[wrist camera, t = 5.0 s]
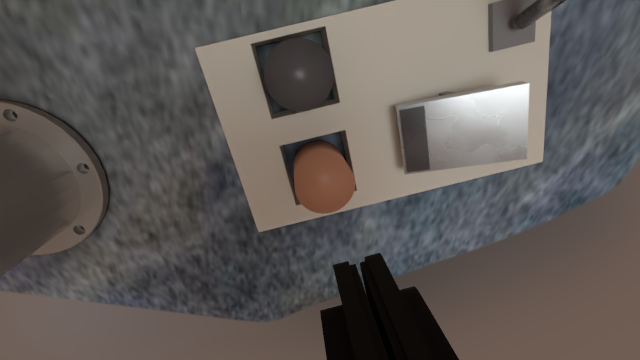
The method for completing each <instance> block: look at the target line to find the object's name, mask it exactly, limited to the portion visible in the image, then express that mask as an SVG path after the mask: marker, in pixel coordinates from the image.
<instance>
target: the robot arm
mask: <svg viewBox="0 0 640 360" xmlns="http://www.w3.org/2000/svg"><path fill="white" fill-rule="evenodd" d="M107 205H108V184H107V180H106V176H105V173H104V170H103V168H102V166H101V164H100V162H99V160H98V158H97V157H96V155H95V154H94V152H93V151H92V149H91V148H90V147H89V145H88V144H87V143H86V142H85V141H84V140H83V139H82V138H81V137H80V136H79V135H78V134H77V133H76V132H75V131H74V130H72V129H71V128H70V127H68V126H67V125H66V124H65V123H63V122H62V121H61V120H59V119H57V118H55V117H53V116H52V115H50V114H48V113H46V112H44V111H42V110H39V109H37V108H34V107H32V106H29V105H26V104H22V103H18V102H13V101H8V100H0V276H2V275H3V274H4V273H6V272H7V271H9V270H10V269H11V268H13V267H14V266H15V265H17V264H18V263H19V262H21V261H22V260H24V259H25V258H26V257H28V256H29V255H47V254H53V253H58V252H61V251H64V250H67V249H70V248H72V247H73V246H75V245H77V244H79V243H80V242H82V241H83V240H84V239H86V238H87V237H88V236H89V235H90V234H91V233H93V231H94V230H95V229H96V228H97V227H98V226H99V224H100V223H101V221H102V219H103V217H104V215H105V213H106V209H107ZM360 266H361V271H362V276H363V280H364V285H365V290H366V293H365V290H364V287H363V284H362V281H361V279H360V276H359V273H358V270H357V267H356V264H353V265H349V262H348V261H347V262H343V263H339V264H335V265H333V267H334V272H335V276H336V280H337V284H338V289H339V293H340V297H341V301H342V305H340V306H336V307H333V308H329V309H325V310H321V311H320V312H321V320H322V328H323V335H324V342H325V349H326V356H327V360H459V359H458V357H457V356H456V354H455V352H454V350H453V349H452V347H451V345H450V344H449V342H448V340H447V339H446V337H445V335H444V334H443V332H442V330H441V328H440V327H439V325H438V323H437V322H436V320H435V319H434V317H433V315H432V313H431V311H430V310H429V308H428V306H427V305H426V303H425V301H424V300H423V298H422V296H421V295H420V293H419V291H418V290H417V289H416V287H410V288H406V289H402V290H399V289H398V287H397V285H396V283H395V281H394V279H393V277H392V275H391V273H390V271H389V269H388V267H387V265H386V263H385V261H384V259H383V257H382V255H381V254H380V253H378V254H374V255H370V256H367V257H365V262H361V263H360ZM366 295H367V296H366Z"/></svg>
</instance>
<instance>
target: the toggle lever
mask: <svg viewBox="0 0 640 360" xmlns="http://www.w3.org/2000/svg"><path fill="white" fill-rule="evenodd" d="M564 1H566V0H536V1H535V2H534V3H532V4H531V5H530V6H528V7H527V8H526V9H525V10H523V11H522V12H521V13H519V14H518V15H517V16H516V17H515V18H514V20H513V26H514V28H516V29H518V30H522V29H525V28H526V27H528V26H529V25H531V24H532V23H534V22H535V21H537V20H538V19H540V18H541V17H542V16H544V15H545V14H547V13H548V12H550V11H551V10H553V9H554V8H556V7H557V6H558V5H560V4H561V3H563V2H564Z"/></svg>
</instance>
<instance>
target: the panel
mask: <svg viewBox="0 0 640 360" xmlns="http://www.w3.org/2000/svg"><path fill="white" fill-rule="evenodd" d="M535 1H536V0H395V1H391V2H387V3H383V4H378V5H374V6H370V7H366V8H362V9H357V10H353V11H349V12H345V13H340V14H336V15H332V16H328V17H324V18H319V19H315V20H311V21H307V22H303V23H298V24H294V25H290V26H286V27H282V28H277V29H273V30H269V31H265V32H261V33H256V34H252V35H248V36H244V37H240V38H235V39H231V40H227V41H223V42H218V43H214V44H210V45H206V46H202V47H197V48H195V50H196V53H197V56H198V59H199V62H200V65H201V68H202V71H203V73H204V76H205V79H206V82H207V85H208V88H209V91H210V94H211V97H212V99H213V102H214V105H215V108H216V111H217V114H218V117H219V120H220V123H221V125H222V128H223V131H224V134H225V137H226V140H227V143H228V146H229V149H230V151H231V154H232V157H233V160H234V163H235V166H236V169H237V172H238V174H239V177H240V180H241V183H242V186H243V189H244V192H245V195H246V198H247V200H248V203H249V206H250V209H251V212H252V215H253V218H254V221H255V224H256V226H257V229H258V232H262V231H266V230H270V229H274V228H278V227H282V226H286V225H290V224H294V223H298V222H302V221H306V220H310V219H314V218H318V217H322V216H326V215H330V214H334V213H338V212H342V211H346V210H350V209H354V208H358V207H362V206H366V205H370V204H375V203H379V202H383V201H387V200H391V199H395V198H399V197H403V196H407V195H411V194H415V193H419V192H423V191H427V190H431V189H435V188H439V187H443V186H447V185H451V184H455V183H459V182H463V181H467V180H471V179H475V178H479V177H483V176H487V175H491V174H495V173H499V172H503V171H507V170H511V169H515V168H519V167H523V166H527V165H531V164H535V163H539V162H543V149H544V131H545V114H546V96H547V79H548V61H549V43H550V26H551V11H550V12H548V13H547V14H545V15H544V16H542V17H541V18H540V19H538V20H537V21H535V22H534V23H532V24H531V25H529V26H528V27H526V28H525V29H522V30H518V29H516V28H514V26H513V20H514V18H515V17H516V16H517V15H518V14H519V13H521V12H522V11H523V10H525V9H526V8H527V7H528V6H530V5H531V4H532V3H534V2H535ZM318 31H321V36H322V41H323V46H324V50H325V51H326V53H327V54H328V56H329V57H330V59H331V62H332V65H333V70H334V82H333V86H332V91H333V96H334V99H330V100H326V101H324V102H323V103H321V104H320V105H319V106H317V107H316V108H314V109H312V110H309V111H304V112H296V111H291V110H285V111H281V112H277V113H273V110H272V106H271V103H270V99H269V95H268V92H267V88H266V85H265V81H264V77H263V74H262V70H261V67H260V63H259V59H258V56H257V52H256V49H255V47H256V46H260V45H264V44H268V43H272V42H277V41H281V40H285V39H289V38H293V37H298V36H302V35H306V34H310V33H314V32H318ZM518 81H524V82H527V83H529V111H528V139H527V159H522V160H515V161H507V162H499V163H491V164H483V165H475V166H467V167H460V168H452V169H444V170H436V171H428V172H420V173H412V174H404V168H403V160H402V152H401V144H400V137H399V129H398V121H397V113H396V105H395V104H400V103H406V102H411V101H417V100H422V99H427V98H433V97H438V96H443V95H449V94H454V93H459V92H465V91H470V90H475V89H481V88H486V87H492V86H497V85H502V84H508V83H513V82H518ZM339 131H341V136H342V141H343V146H344V151H345V156H346V161H347V164H348V166H349V167H350V169H351V171H352V172H353V175H354V178H355V190H354V193H353V196H352V198H351V199H350V201H349V202H348V203H347V204H346V205H345V206H344V207H342V208H341V209H339V210H337V211H335V212H332V213H325V214H322V213H315V212H312V211H310V210H308V209H307V208H305V207H304V206H303V205H302V204H301V203H300V202H299V200H298V198H297V196H296V193H295V189H294V186H293V182H292V178H291V175H290V171H289V167H288V164H287V160H286V157H285V153H284V149H283V146H282V145H286V144H290V143H294V142H298V141H302V140H306V139H310V138H314V137H318V136H323V135H327V134H331V133H335V132H339Z"/></svg>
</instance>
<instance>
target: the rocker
mask: <svg viewBox="0 0 640 360" xmlns="http://www.w3.org/2000/svg"><path fill="white" fill-rule="evenodd" d="M395 105H396V113H397V121H398V129H399V137H400V144H401V152H402V160H403V168H404V174H412V173H420V172H428V171H436V170H444V169H452V168H460V167H467V166H475V165H483V164H491V163H499V162H507V161H515V160H522V159H527V139H528V111H529V83H527V82H524V81H518V82H513V83H508V84H502V85H497V86H492V87H486V88H481V89H475V90H470V91H465V92H459V93H454V94H449V95H443V96H438V97H433V98H427V99H422V100H417V101H411V102H406V103H400V104H395Z"/></svg>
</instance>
